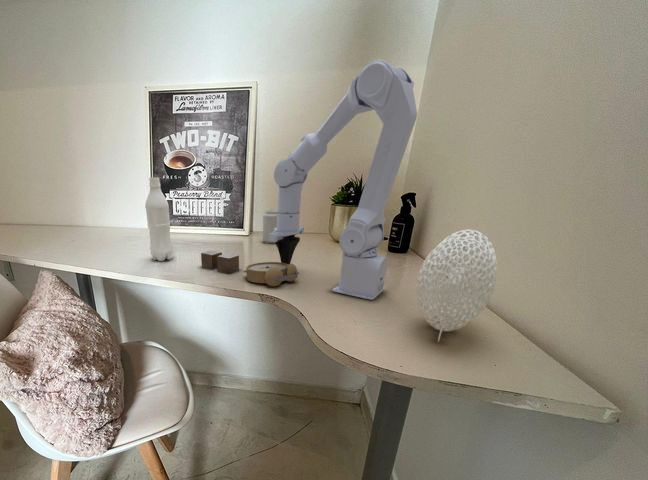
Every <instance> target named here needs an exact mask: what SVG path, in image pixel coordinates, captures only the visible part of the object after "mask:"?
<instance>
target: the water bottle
mask: <svg viewBox="0 0 648 480" xmlns="http://www.w3.org/2000/svg"><path fill="white" fill-rule="evenodd" d="M148 178H149V179H148V181H149V183H148V184H149V185H148V186H149V192H148V195H147V198H146V201H145V203H144V204H145V206H144V207H145V212H146V220H147V224H146V225H147V228H148V231H149V238H150V241H149V242H150V243H149V244H150V245H149V251H150V255H151V258H152V259H153V261H158V262H164V261H165V260H168V261H170V260H171V259H172V258H173V253H174V250H173V249H174V248H173V244H172V240H171V221H170V219H171V218H170V208H169V207H170V205H169V202H168V200H167V198H166V196H165V195H164V193H163V192H162V188H161V186H162V185H161V181H160V177H158V176H156V177H155V176H154V177H148Z"/></svg>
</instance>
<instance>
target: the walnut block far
mask: <svg viewBox="0 0 648 480" xmlns="http://www.w3.org/2000/svg"><path fill="white" fill-rule="evenodd" d="M220 255H223V252H221V251H217V250H207V251H203V252H200V258H201V259H200V261H201V263H200V264H201V268H202V269H207V270H210V271H211V270H212V271H213V270H216V269H218V262H217V256H220Z"/></svg>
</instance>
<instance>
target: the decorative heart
mask: <svg viewBox="0 0 648 480" xmlns="http://www.w3.org/2000/svg"><path fill="white" fill-rule="evenodd" d="M466 257H467V259H466ZM497 266H498V260H497V256H496V250H495V247H494V245H493V243H492V242H491V240H490V239H489V238H488V236H487V235H485V234H484V233H482V232H480V231H479V230H476V229H471V228H470V229H469V228H468V229H461V230H459V231H455V232H452V233H451V234H449V235H448V236H447V237H445V238H443V240H441V241H440V243H438V244H437V246H435V248H433V249H432V250H431V251H430V252H429V253H428V255H427V256H426V257H425V259H424V260H423V262H422V264H421V266H420V269H419V271H418V274H417V278H416V285H415V296H416V302H417V306H418V309H419V312H420V313H421V315H422V317H423V318H424V320H425V321H426V322H427V323H428V324H429V326H431V327H432V328H434V329H435V330H436V331H439V333H438V339H437V343H439V342H440V340H441V336H442V333H443V332H452V331H456V330H459V329H461V328H464V327H466V326H467V325H468V324H470V323H471V322H473V321H474V320H475V319H476V318H477V317H479V315H480V314H481V313H482V312H483V311H484V309H485V308H486V306H487V305H488V304H489V301H490V300H491V298H492V295H493V293H494V291H495V286H496V281H497V274H498V273H497V272H498V267H497ZM453 267H454V268H453ZM448 271H449V272H448ZM442 276H443V278H442ZM446 277H447V279H446ZM441 278H442V279H441ZM467 281H468V283H467ZM475 284H476V285H475ZM465 304H466V305H465ZM441 308H442V310H441Z"/></svg>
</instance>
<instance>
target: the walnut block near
mask: <svg viewBox="0 0 648 480" xmlns="http://www.w3.org/2000/svg"><path fill="white" fill-rule="evenodd" d="M217 262H218V268H217V272H220V273H225V274H233V273H235V272H238V271H240V255H238V254H233V253H229V252H227V253H222V255H220V256H217Z"/></svg>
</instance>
